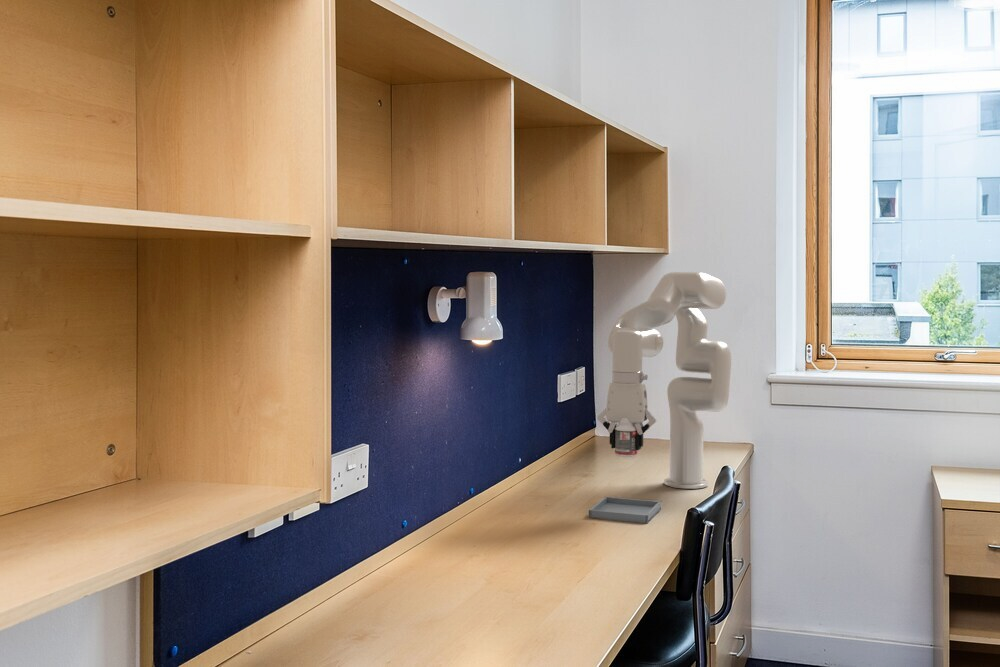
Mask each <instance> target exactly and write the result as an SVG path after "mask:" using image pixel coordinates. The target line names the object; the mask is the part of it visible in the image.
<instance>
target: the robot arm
mask: <svg viewBox="0 0 1000 667" xmlns="http://www.w3.org/2000/svg"><path fill="white" fill-rule="evenodd" d="M726 299H727V288H726V286H725V284H724V282H722V280H721V279H719V278H716V277H714V276H711V275H710V274H707V273H705V272H701V271H700V272H698V271H691V272H690V271H687V272H685V271H682V272H681V271H675V272H673V271H672V272H668V273H666V274H665V275H663V276H662V277H661V278H660V280H659V281H658V283H657V285H656V286H655V287H654V289H653V291H652V292H651V294H650V295H649V297H648V299H647V300H646V301H645V302H642V303H640V304H638V305H636V306H634V307H632V308H631V309H629V310H627V311H625V312H624V313H623V314H621V315H620V316H619V317H618V319H617V320H616V322H615V323H614V324H613V326H612V328H611V330H610V331H609V335H608V339H607V344H608V348H609V351H610V352H611V353H612V374H611V380H612V381H611V382H610V383H609V385H608V391H607V398H606V408H605V409H604V410H602V411H601V413H600V414H599V415H598V416H597V417H596V418H597V420H598V421H599V422H600V423H601V425H602V426H603V427H604V428H605V429H606V430H607V432H608V433H609V445H611V446H610V448H611V449H615V428H616V426H617V425H618V422H620V421H621V419H622V418H626V419H628V421H629V422H630V423H635V426H636V429H637V435H636V450H637V451H640V450H641V449H642V447H644V434H645V433H646V432H647V431H648V430H649V429H650V428H651V427H652V426H654V424H656V422H657V419H656V418H655V417H654V415H653V414H652V413H651V412H650V411H649V408H648V407H649V406H648V395H647V388H646V383H643V381H648V374H645V373H643V358H652V357H656V356H657V355H659V354H660V353H661V351H662V349H663V347H664V338H663V335H662V333H661V332H659V331H658V330H657V329H655V328H658V327H660V326H665V325H666V324H669V323H671V321H673V319H674V318H675V317H676V320H677V335H676V337H677V338H676V348H675V349H676V350H675V366H676V368H677V369H678V370H679V371H681V372H685V373H693V374H695V373H696V374H707V375H708V374H709V375H710V378H707V377H706V378H705V377H698V376H697V377H695V376H692V377H691V376H678V377H675V378H673V379H672V380H671V381H670V382H669V383H668V386H667V391H666V392H667V394H666V395H667V402H668V406H669V407H668V408H669V420H670V421H669V424H670V426H669V427H670V428H669V431H670V432H669V477H666V478H664V479H663V484H664V485H665V486H668V487H670V488H675V489H684V490H685V489H686V490H689V489H693V490H694V489H703V488H706V487H708V486H709V482H708V480H706V479H705V478H703V472H704V471H703V470H704V467H703V466H704V424H703V421H702V419H701V417H700V415H699V413H698V412H710V413H711V412H712V413H719V412H723V411H725V409H726V408H727V406H728V403H729V395H730V386H731V385H730V384H731V372H732V352H731V349H730V347H729V345H728V344H727V343H726V342H723V341H719V340H708V328H709V327H708V321H707V318H706V317H705V315H703V313H702V311H701V310H700V309H702V310H703V309H704V310H717V309H720V308H722V306H724V304H725V302H726ZM647 420H648V421H647ZM645 421H647V423H645V424H643V423H644V422H645Z"/></svg>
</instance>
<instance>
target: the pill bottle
mask: <svg viewBox="0 0 1000 667" xmlns="http://www.w3.org/2000/svg"><path fill="white" fill-rule="evenodd" d="M636 435H637V429H636V426H635V423H630V422H629V421H628V419H626V418H622V419H621V421H620V422H618V424H617V426H616V428H615V448H614V454H615V455H614V456H616V457H620V458H634V457H635V458H636V457H637V455H638V450H636Z"/></svg>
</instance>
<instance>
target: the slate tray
mask: <svg viewBox="0 0 1000 667" xmlns="http://www.w3.org/2000/svg"><path fill="white" fill-rule="evenodd" d="M661 510H662V501H658V500H648V499H647V500H646V499H635V498H625V497H617V496H616V497H614V496H612V497H611V496H605V497H603V498H602V499H600V501H599V502H597V503H596V504H594V505H593V506H592V507H590V508H589V509H588V518H589V519H597V520H598V519H599V520H608V521H617V522H618V521H619V522H629V523H638V524H639V523H640V524H649V522H650V521H652V519H653V518H654V517H655V516H656V515H657V514H658V513H660V511H661Z"/></svg>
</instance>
